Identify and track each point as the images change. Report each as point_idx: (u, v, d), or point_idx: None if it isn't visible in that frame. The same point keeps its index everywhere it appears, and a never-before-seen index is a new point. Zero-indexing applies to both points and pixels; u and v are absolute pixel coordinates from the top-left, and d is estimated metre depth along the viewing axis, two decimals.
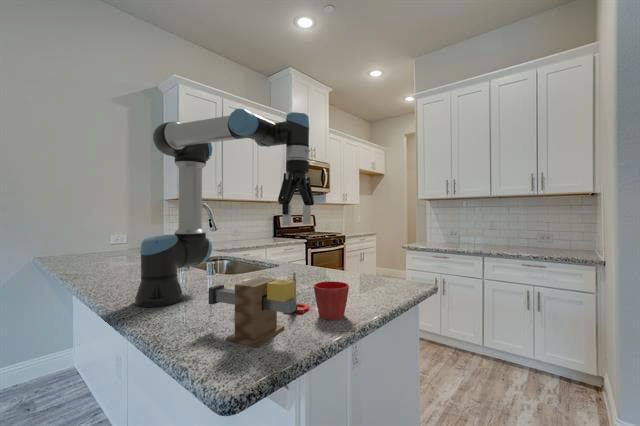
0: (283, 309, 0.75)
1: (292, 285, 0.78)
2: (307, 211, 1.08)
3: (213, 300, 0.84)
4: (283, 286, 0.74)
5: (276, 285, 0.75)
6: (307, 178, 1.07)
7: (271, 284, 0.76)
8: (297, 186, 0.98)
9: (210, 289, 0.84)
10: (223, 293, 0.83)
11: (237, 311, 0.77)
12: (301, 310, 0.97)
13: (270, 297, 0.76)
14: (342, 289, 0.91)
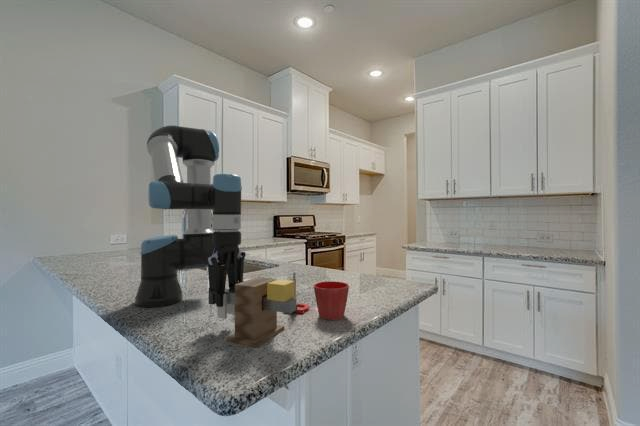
0: (283, 309, 0.75)
1: (292, 285, 0.78)
2: None
3: (213, 300, 0.84)
4: (283, 286, 0.74)
5: (276, 285, 0.75)
6: (242, 253, 0.89)
7: (271, 284, 0.76)
8: (227, 266, 0.83)
9: None
10: None
11: (237, 311, 0.77)
12: (301, 310, 0.97)
13: (270, 297, 0.76)
14: (342, 289, 0.91)
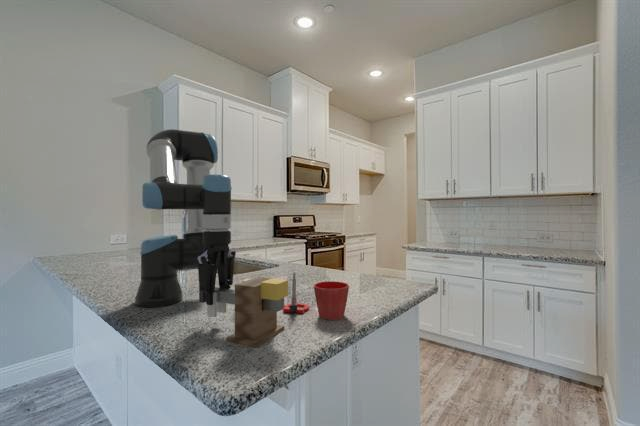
0: (271, 307, 0.77)
1: (286, 284, 0.78)
2: None
3: (203, 298, 0.86)
4: (276, 285, 0.75)
5: (269, 284, 0.76)
6: (232, 252, 0.91)
7: (264, 283, 0.77)
8: (217, 265, 0.84)
9: None
10: None
11: (237, 311, 0.77)
12: (301, 310, 0.97)
13: (263, 296, 0.77)
14: (342, 289, 0.91)
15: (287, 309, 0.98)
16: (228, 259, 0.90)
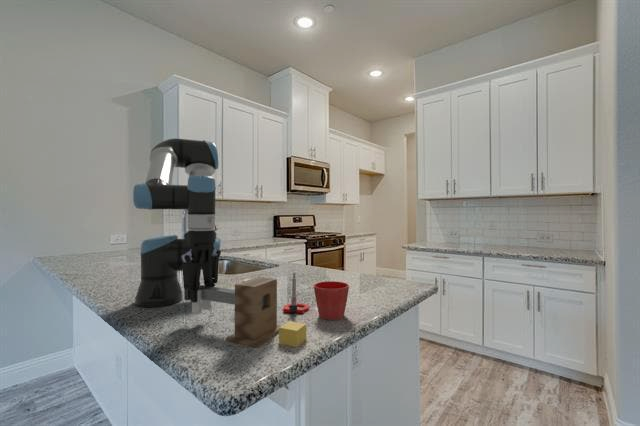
0: None
1: None
2: None
3: (188, 296, 0.88)
4: (279, 342, 0.75)
5: (287, 344, 0.74)
6: (217, 251, 0.93)
7: (292, 345, 0.74)
8: (201, 263, 0.87)
9: None
10: None
11: (237, 311, 0.77)
12: (301, 310, 0.97)
13: (293, 332, 0.74)
14: (342, 289, 0.91)
15: (287, 309, 0.98)
16: (213, 258, 0.93)
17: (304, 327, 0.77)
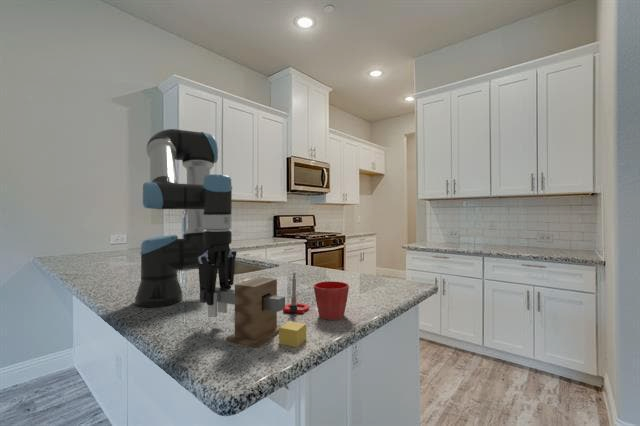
0: (272, 307, 0.77)
1: None
2: None
3: (204, 299, 0.85)
4: (279, 342, 0.75)
5: (287, 344, 0.74)
6: (233, 252, 0.91)
7: (292, 345, 0.74)
8: (218, 265, 0.84)
9: None
10: None
11: (237, 311, 0.77)
12: (301, 310, 0.97)
13: (293, 332, 0.74)
14: (342, 289, 0.91)
15: (287, 309, 0.98)
16: (229, 259, 0.90)
17: (304, 327, 0.77)
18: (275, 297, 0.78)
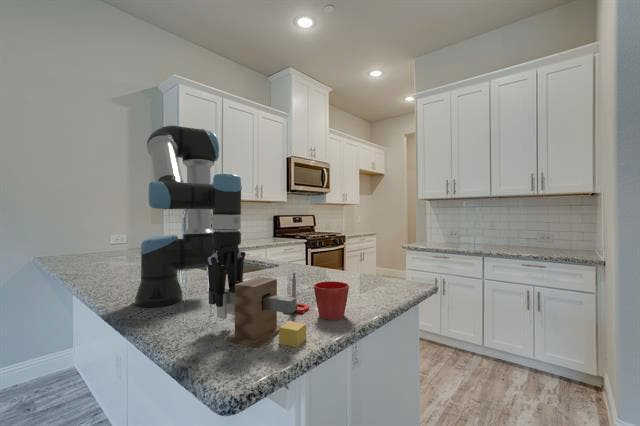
0: (283, 309, 0.75)
1: None
2: None
3: (213, 300, 0.84)
4: (280, 342, 0.75)
5: (287, 344, 0.74)
6: (242, 253, 0.89)
7: (292, 345, 0.74)
8: (227, 266, 0.83)
9: None
10: None
11: (237, 311, 0.77)
12: (301, 310, 0.97)
13: (293, 332, 0.74)
14: (342, 289, 0.91)
15: None
16: (238, 260, 0.89)
17: (304, 327, 0.77)
18: (286, 299, 0.76)
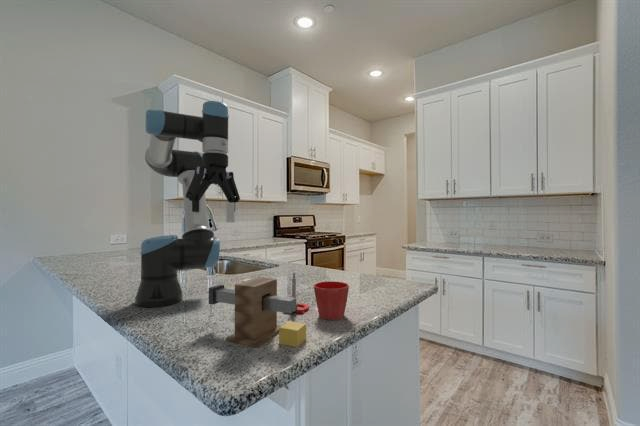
0: (283, 309, 0.75)
1: None
2: (230, 208, 1.00)
3: (213, 300, 0.84)
4: (280, 342, 0.75)
5: (287, 344, 0.74)
6: (230, 173, 0.99)
7: (292, 345, 0.74)
8: (212, 181, 0.91)
9: (210, 289, 0.84)
10: (223, 293, 0.83)
11: (237, 311, 0.77)
12: (301, 310, 0.97)
13: (293, 332, 0.74)
14: (342, 289, 0.91)
15: None
16: (229, 180, 1.00)
17: (304, 327, 0.77)
18: (286, 299, 0.76)
